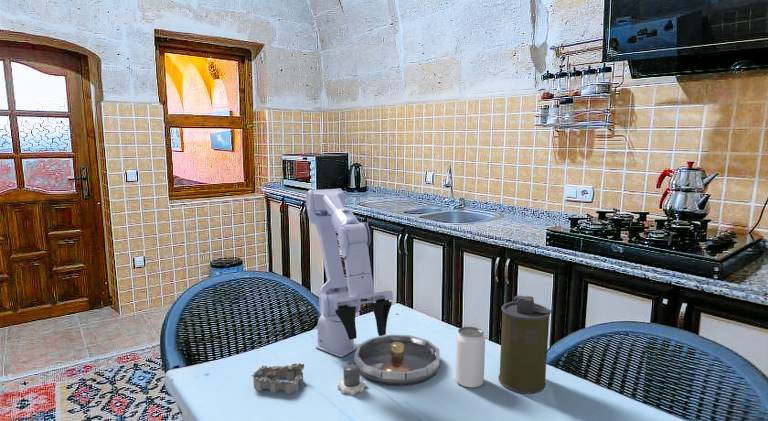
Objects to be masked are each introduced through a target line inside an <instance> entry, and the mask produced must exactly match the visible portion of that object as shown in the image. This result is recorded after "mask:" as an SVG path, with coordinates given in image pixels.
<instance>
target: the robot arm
mask: <svg viewBox="0 0 768 421" xmlns="http://www.w3.org/2000/svg"><path fill="white" fill-rule="evenodd" d="M305 198H306V199H305V202H306V203H305V204H306V211H307V216H308V219H309V222H310V223H311V224H313V225H314V226H315V227H316V230H317V233H318V238H319V244H320V248H321V255H322V261H323V266H324V272H325V276H326V282H325V283H324V284H323V285H322V286H321V287H320V288H319V291H318V300H319V302H318V304H319V312H320V314H321V315H320V316H319V318H318V321H317V328H316V329H317V344H316V345H315V348H316V349H318V350H321V351H323V352H326V353H329V354H332V355H334V356H337V357H340V358H343V357H345V356H347V355H349V354H350V353H352V352H354V351H356V349H357V347H358V345H360V344H361V343H357V342H355V339H357V327H356V317H357V314H358V313H359V311H360V310H361V305H365V304H370V306H371V309H372V310H373V311H372V312H373V315H374V318H375V324H376V331H377V334H378V337H379V336H385V335H387V325H388V318H389V313H390V310H391V308H392V303H393V302H392V301H391V300H394V296H393V291H392V290H385V291H378V292H375V288H374V280H373V274H372V267H371V260H370V254H369V253H370V252H369V247H370V244H371V231H370V230H371V229H370V227H369V225H368V224H367V222H360V221H359V220H358V219H357V217H356V216H355V214H354V212H353V211H352V210H351V209H349V208H347V207H345V205H346V196H345V193H344V190H342V188H340V187H339V188H331V189H330V188H328V189H327V188H326V189H310V188H309V189H308V191H306V196H305ZM336 233H337V234H336ZM339 247H340V248H339ZM340 250H341V251H340ZM341 257H342V258H343V259H344V266H345V271H344V267H343V262H342V258H341ZM344 273H345V274H344ZM345 275H346V277H345ZM362 300H364V301H362Z"/></svg>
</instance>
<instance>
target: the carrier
mask: <svg viewBox="0 0 768 421" xmlns="http://www.w3.org/2000/svg"><path fill="white" fill-rule="evenodd" d="M359 344H360V345H358V347H357V349H356V350H355V352H354V354H353V355H354V356H353V357H354V360H353V361H354V364H355V365H358V366H359V367H360V375H361V377H363V378H364V379H366V380H368V381H371V382H373V383H376V384H381V385H387V386H394V387H395V386H396V387H397V386H398V387H401V386H412V385H418V384H420V383H424V382H426V381H428V380H430V379H432V378H434V377H435V376H436V374H437V373H438V372H439V370H440V366H441V365H440V360H441V358H440V356H441V354H440V351H441V350H440V348H439V347H437V346H436V345H434V344H433V343H432V342H431V341H430V340H428V339H424V338H421V337H418V336H415V335H411V334H410V335H409V334H406V335H405V334H386V335H383V336H379V335H378V336H375V337H370V338H369V339H367V340H365V341H363V342H362V343H359Z"/></svg>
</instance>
